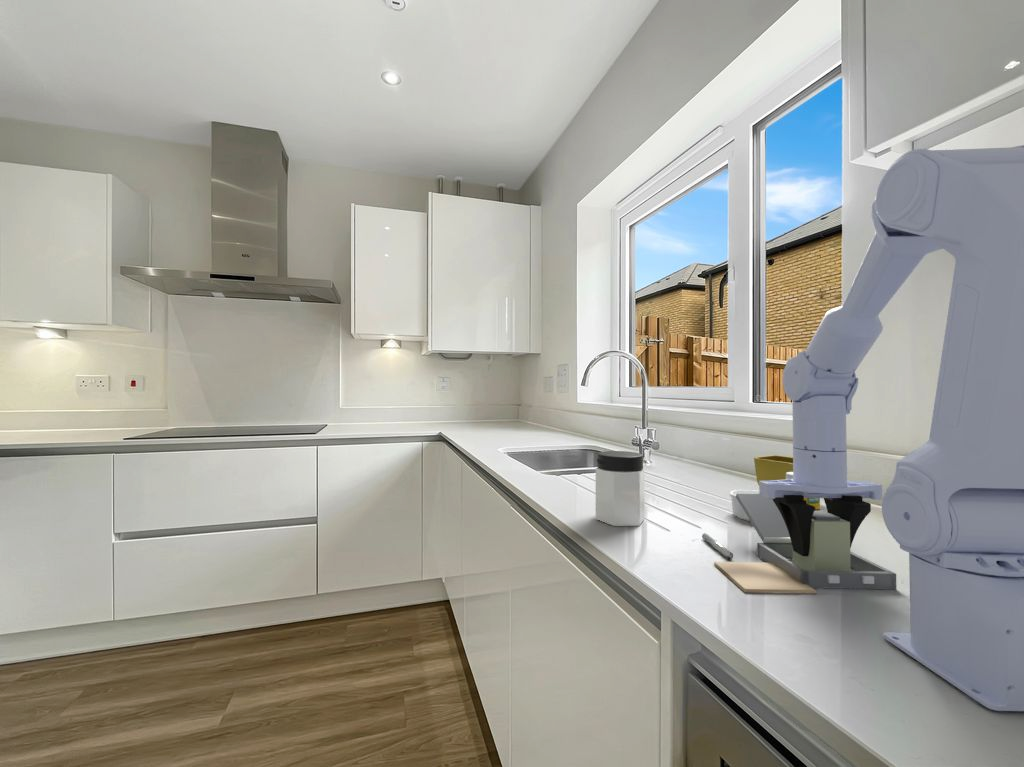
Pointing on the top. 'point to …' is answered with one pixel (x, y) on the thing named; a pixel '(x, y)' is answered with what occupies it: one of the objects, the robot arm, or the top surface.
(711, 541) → the rod
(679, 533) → the top surface
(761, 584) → the mat
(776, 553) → the case
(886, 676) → the top surface
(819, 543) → the block
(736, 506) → the ramekin
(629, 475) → the jar
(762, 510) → the lid
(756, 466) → the flower pot
